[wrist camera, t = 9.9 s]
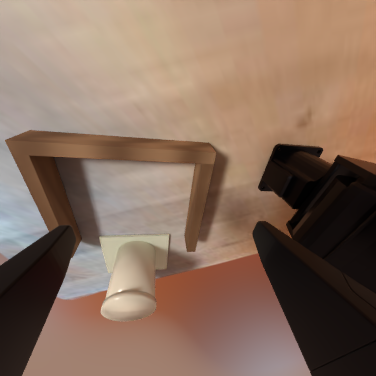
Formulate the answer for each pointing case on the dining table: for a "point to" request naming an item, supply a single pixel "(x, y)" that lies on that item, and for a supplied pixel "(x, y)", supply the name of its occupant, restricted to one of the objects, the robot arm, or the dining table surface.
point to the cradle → (104, 149)
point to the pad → (114, 242)
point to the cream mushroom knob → (131, 283)
